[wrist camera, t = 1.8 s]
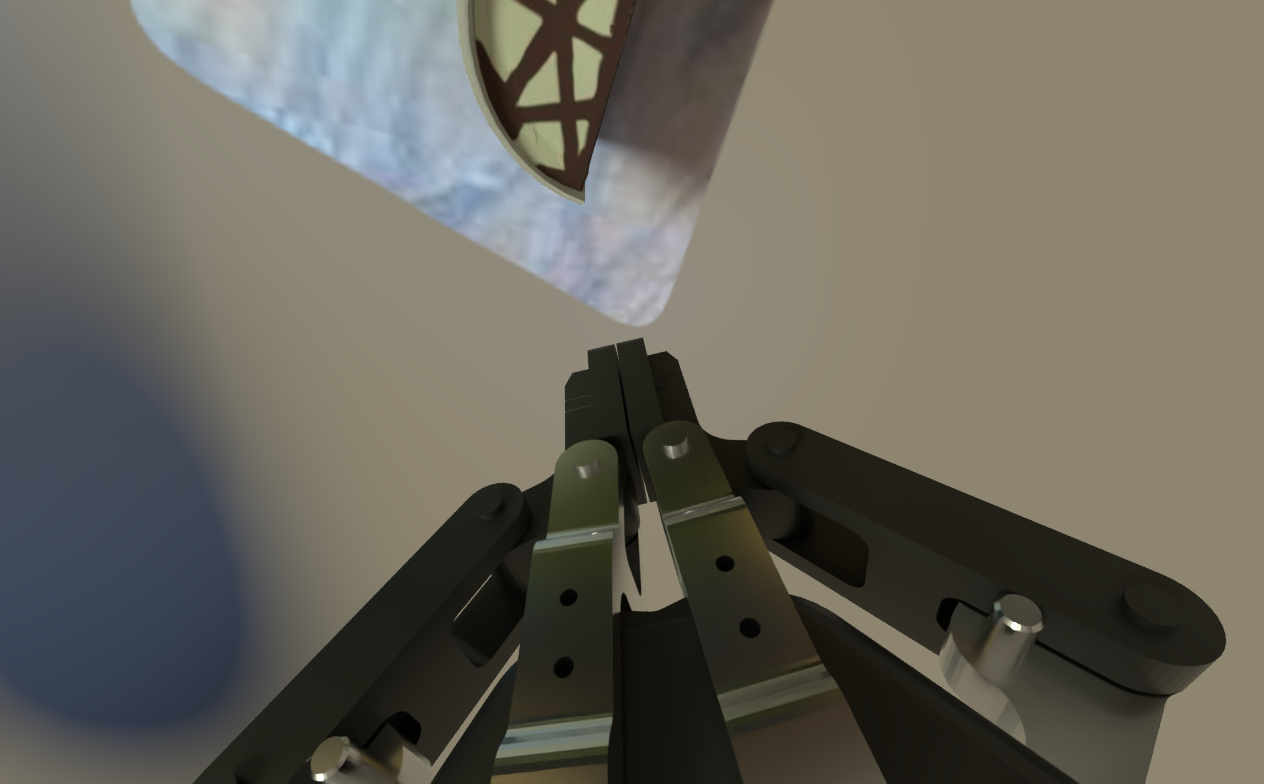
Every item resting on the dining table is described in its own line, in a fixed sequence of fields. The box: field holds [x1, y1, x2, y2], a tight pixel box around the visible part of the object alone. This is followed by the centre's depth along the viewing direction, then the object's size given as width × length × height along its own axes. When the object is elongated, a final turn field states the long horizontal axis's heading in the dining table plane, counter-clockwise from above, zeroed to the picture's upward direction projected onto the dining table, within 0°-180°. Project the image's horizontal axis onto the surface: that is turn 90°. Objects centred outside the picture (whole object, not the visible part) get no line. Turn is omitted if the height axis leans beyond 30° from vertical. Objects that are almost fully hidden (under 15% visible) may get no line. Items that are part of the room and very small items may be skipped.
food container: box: [457, 0, 636, 205], centre depth 21 cm, size 12×6×10 cm, turn 161°
